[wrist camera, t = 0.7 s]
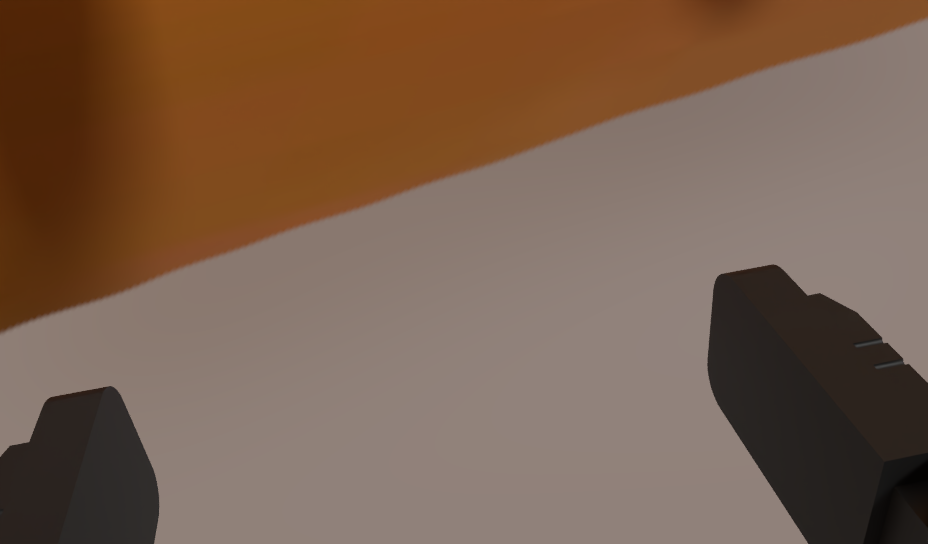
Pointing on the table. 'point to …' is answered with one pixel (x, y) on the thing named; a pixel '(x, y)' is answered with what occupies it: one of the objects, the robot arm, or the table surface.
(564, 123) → the table surface
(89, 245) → the table surface
